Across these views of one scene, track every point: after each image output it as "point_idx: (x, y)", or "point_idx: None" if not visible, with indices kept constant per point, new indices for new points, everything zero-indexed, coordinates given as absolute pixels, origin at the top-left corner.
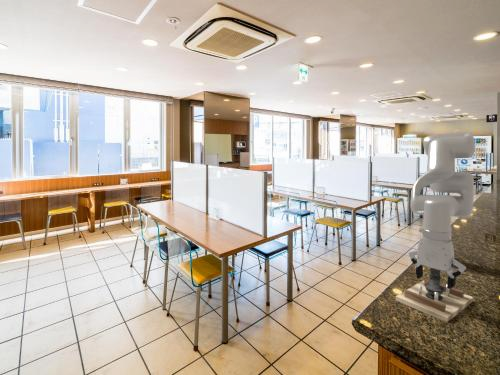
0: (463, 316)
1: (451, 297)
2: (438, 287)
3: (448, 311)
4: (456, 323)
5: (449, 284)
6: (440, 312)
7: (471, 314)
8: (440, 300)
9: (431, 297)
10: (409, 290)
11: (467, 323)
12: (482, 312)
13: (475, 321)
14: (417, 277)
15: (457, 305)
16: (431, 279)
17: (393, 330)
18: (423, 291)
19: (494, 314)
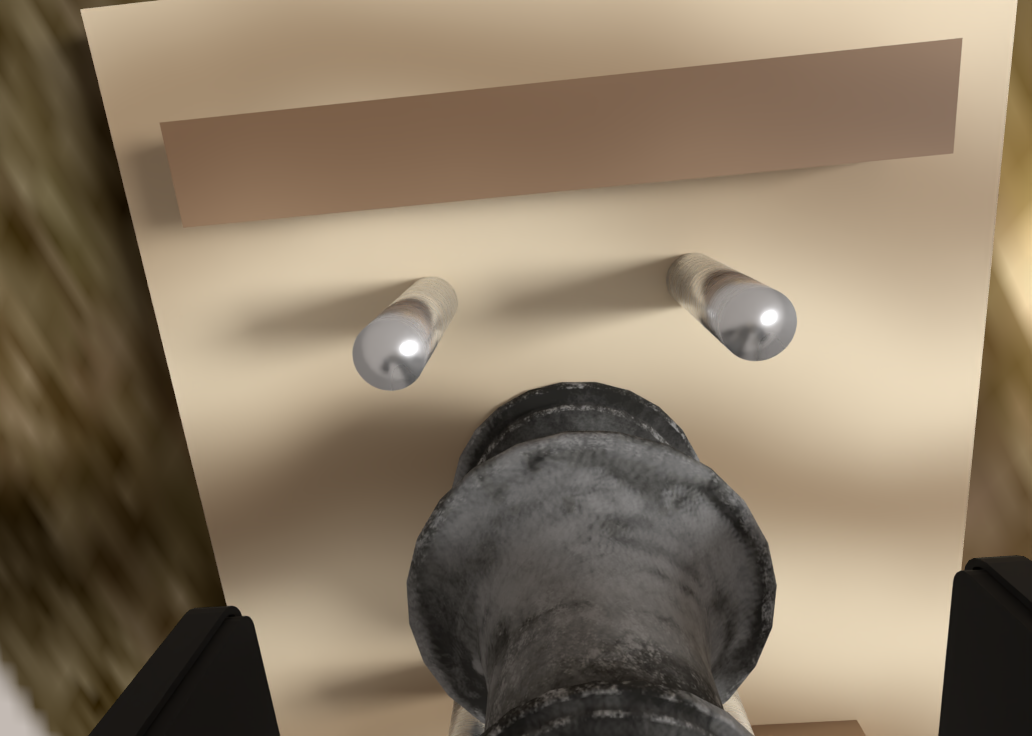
0: (143, 388)
1: (424, 667)
2: (483, 592)
3: (200, 232)
4: (65, 123)
5: (125, 689)
6: (232, 79)
7: (134, 516)
8: (455, 460)
9: (564, 408)
10: (938, 366)
11: (14, 256)
12: (113, 658)
13: (11, 392)
14: (1006, 567)
15: (250, 517)
16: (640, 660)
17: None
18: (762, 523)
19: (36, 713)
